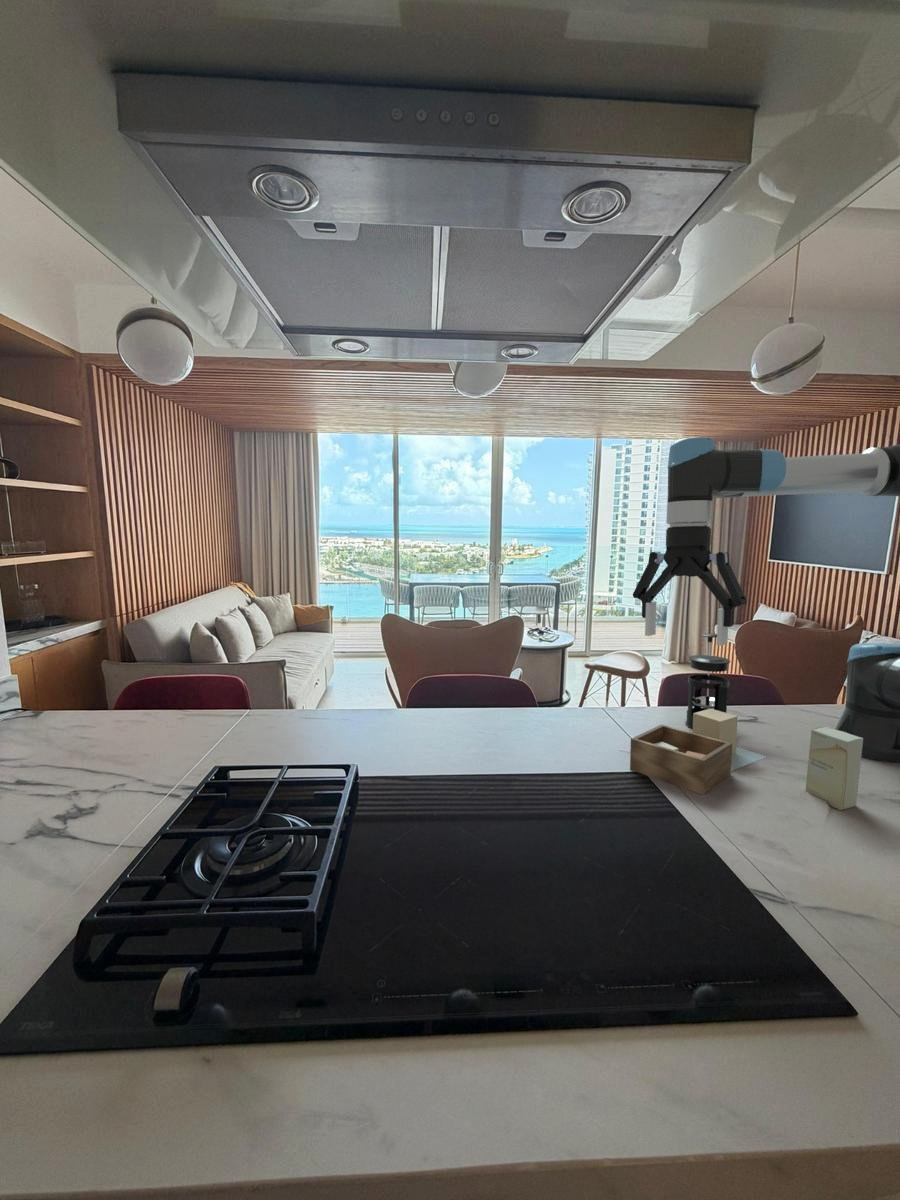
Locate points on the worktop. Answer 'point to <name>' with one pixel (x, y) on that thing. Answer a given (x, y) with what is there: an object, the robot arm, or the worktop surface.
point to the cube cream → (666, 746)
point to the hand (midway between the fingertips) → (684, 639)
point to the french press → (708, 665)
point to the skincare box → (834, 766)
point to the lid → (723, 734)
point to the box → (681, 758)
